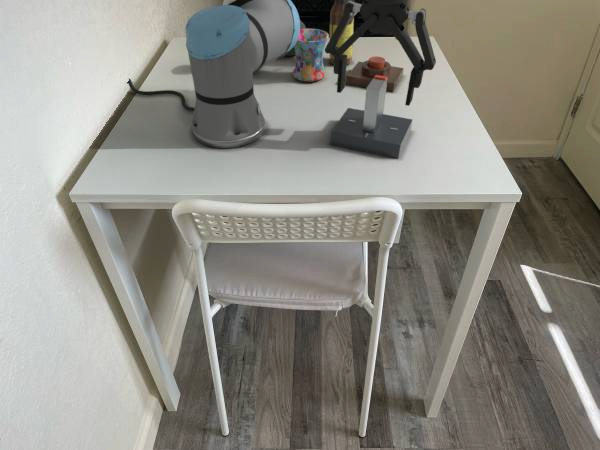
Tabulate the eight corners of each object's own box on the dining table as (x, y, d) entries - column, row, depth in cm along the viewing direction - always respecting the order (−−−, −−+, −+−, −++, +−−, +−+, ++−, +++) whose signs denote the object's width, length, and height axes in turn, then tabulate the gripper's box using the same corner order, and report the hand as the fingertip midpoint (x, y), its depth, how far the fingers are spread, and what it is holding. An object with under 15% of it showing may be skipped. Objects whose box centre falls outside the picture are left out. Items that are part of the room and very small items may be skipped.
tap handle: (374, 133, 90) (379, 88, 84) (362, 130, 91) (366, 86, 85) (382, 119, 94) (387, 76, 88) (370, 117, 95) (375, 74, 89)
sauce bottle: (356, 63, 124) (362, -17, 111) (338, 68, 122) (342, -13, 109) (341, 55, 128) (345, -23, 115) (323, 60, 126) (325, -19, 113)
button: (366, 68, 113) (366, 61, 112) (370, 62, 116) (371, 55, 114) (382, 70, 112) (382, 63, 110) (386, 64, 114) (386, 57, 113)
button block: (346, 84, 114) (347, 68, 112) (357, 69, 121) (359, 54, 119) (393, 92, 111) (395, 76, 108) (402, 76, 118) (404, 61, 115)
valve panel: (330, 144, 93) (331, 130, 91) (347, 120, 100) (348, 106, 98) (398, 158, 89) (400, 144, 87) (410, 132, 96) (412, 118, 94)
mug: (314, 87, 113) (315, 44, 106) (284, 79, 117) (282, 36, 110) (338, 71, 120) (341, 29, 113) (309, 63, 124) (309, 23, 117)
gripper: (470, -23, 74) (442, 99, 88) (325, -38, 81) (320, 77, 95) (464, -11, 68) (435, 117, 82) (309, -29, 75) (307, 92, 89)
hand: (374, 96), depth 89 cm, fingers open, 13 cm apart
